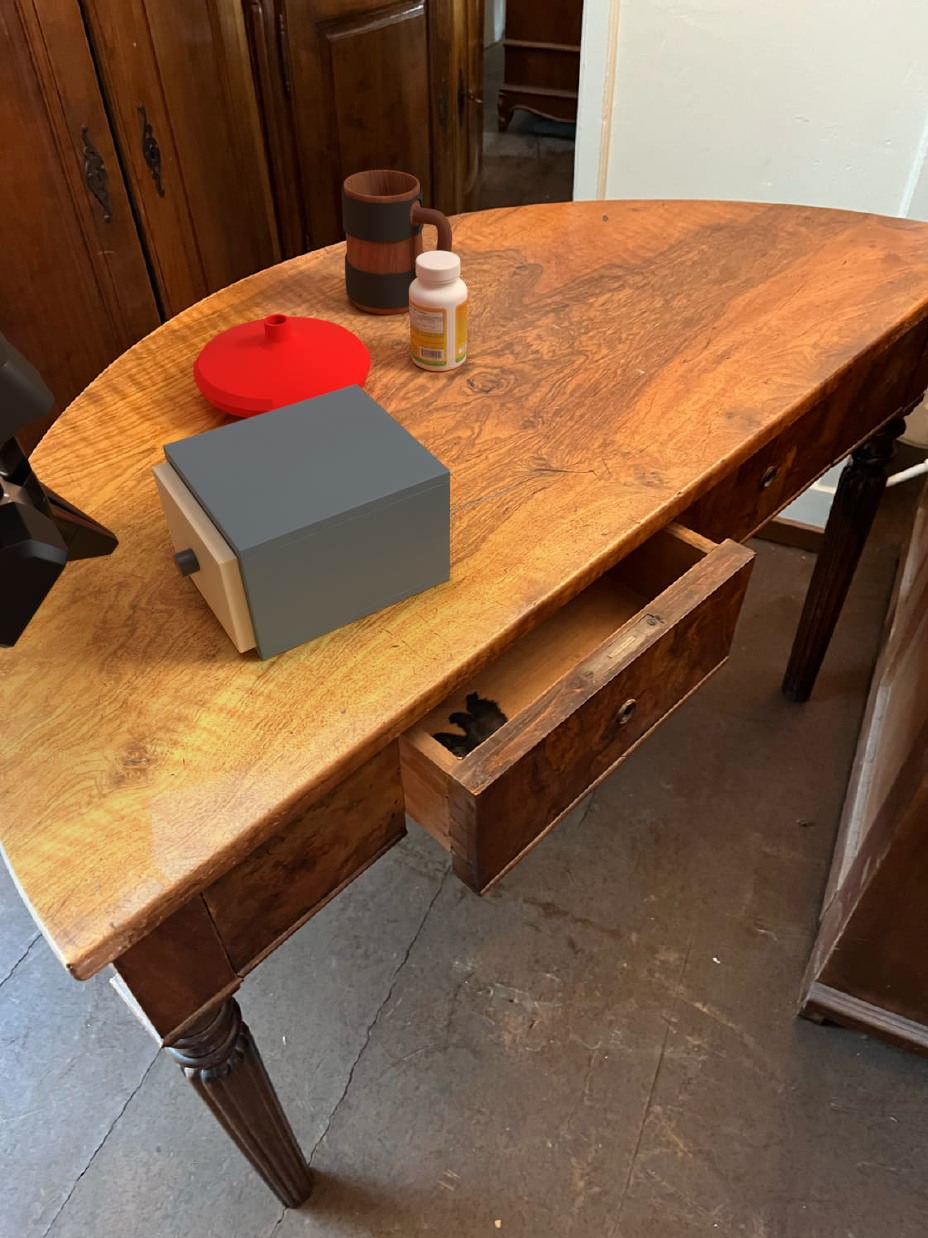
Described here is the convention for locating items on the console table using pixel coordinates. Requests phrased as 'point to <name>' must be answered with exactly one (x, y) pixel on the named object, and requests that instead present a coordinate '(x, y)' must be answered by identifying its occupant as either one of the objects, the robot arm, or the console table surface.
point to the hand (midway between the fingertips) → (114, 545)
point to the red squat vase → (278, 364)
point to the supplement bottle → (438, 312)
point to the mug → (385, 238)
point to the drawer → (205, 556)
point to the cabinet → (321, 512)
